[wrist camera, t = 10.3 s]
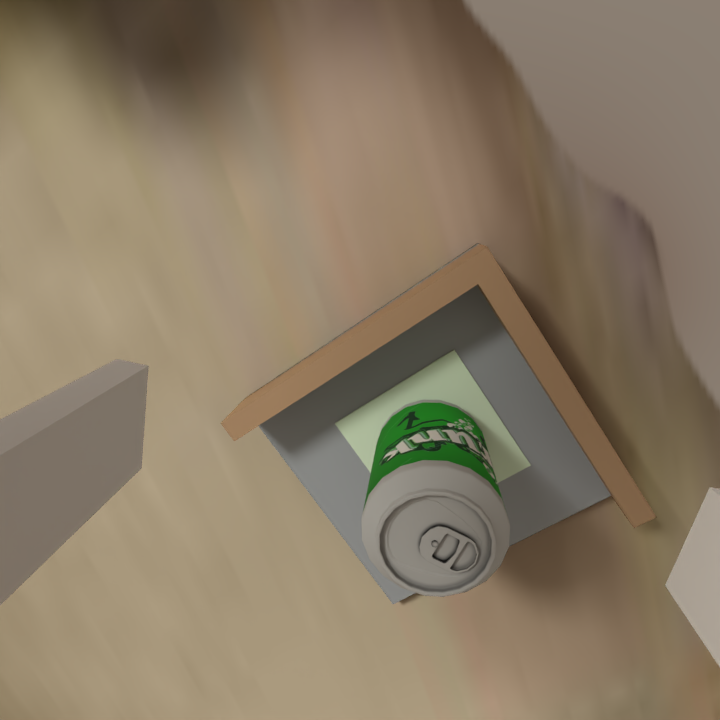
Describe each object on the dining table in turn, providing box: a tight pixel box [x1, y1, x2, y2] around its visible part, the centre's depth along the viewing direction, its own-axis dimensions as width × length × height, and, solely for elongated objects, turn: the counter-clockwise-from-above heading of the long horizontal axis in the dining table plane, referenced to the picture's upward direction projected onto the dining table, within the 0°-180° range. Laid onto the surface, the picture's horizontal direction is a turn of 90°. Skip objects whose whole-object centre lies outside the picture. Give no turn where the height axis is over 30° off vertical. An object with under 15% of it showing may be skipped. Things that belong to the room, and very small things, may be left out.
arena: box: [221, 243, 656, 604], centre depth 35 cm, size 20×20×5 cm
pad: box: [335, 350, 531, 483], centre depth 37 cm, size 10×10×1 cm
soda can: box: [361, 400, 510, 597], centre depth 31 cm, size 8×8×12 cm
